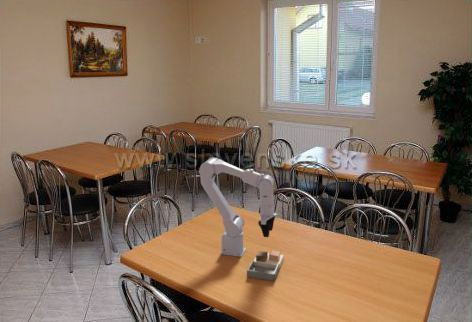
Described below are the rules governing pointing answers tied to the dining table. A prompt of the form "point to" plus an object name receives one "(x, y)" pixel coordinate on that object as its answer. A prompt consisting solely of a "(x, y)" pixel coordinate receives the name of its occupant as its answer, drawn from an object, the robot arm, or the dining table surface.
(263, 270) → the grey box
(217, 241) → the dining table surface
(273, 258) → the terracotta tile
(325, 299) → the dining table surface
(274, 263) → the white board
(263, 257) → the walnut block
